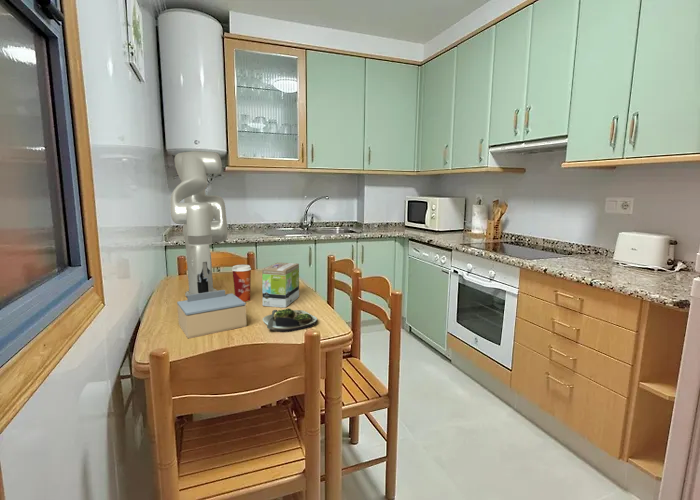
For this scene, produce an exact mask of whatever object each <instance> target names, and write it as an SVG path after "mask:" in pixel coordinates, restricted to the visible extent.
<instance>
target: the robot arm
mask: <svg viewBox="0 0 700 500" xmlns="http://www.w3.org/2000/svg"><path fill="white" fill-rule="evenodd" d="M221 159H222V158H221V156H220V154H218V152H215V151H198V150H197V151H196V150H195V151H194V150H193V151H184V152H183V151H182V152H179V153H176V154H175V156H174V165H175V166H174V167H175V170H176V174H177V175H178V178H179V179H180V183H179V184H177V186H176V187H175V188H174V189H173V191H172V193H171V194H170V199H169V203H170V217H171V220H172V222H174V223H175V224H178V225H182V236H183V239H184V246H185V253H186V264H187V278H188V280H187V281H188V290H186V292H185V295H184V296H185V297H186V298H187V295H191V294H198V293H205V292H211V291H218V290H217V289H216V288H214V284H213V281H214V280H213V267H212V265H213V264H212V253H211V250H210V249H211V248H210V246H211V245H213V243H222V242H226V240H227V239H228V236H229V235H228V221H227V213H226V212H227V211H226V205H225V204H226V203H225V201H224V198H223V197H222V196H220V195H211V194H210V195H207V194H206V188H207V186H208V177H207V174H208V175H209V174H210V175H211V174H213V175H214V174H215V175H216V174H217V175H218V174H220V173H221V171H222V167H223V166H222V165H223V163H222V160H221ZM181 201H183V202H181Z"/></svg>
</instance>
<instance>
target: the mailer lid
mask: <svg viewBox="0 0 700 500" xmlns="http://www.w3.org/2000/svg"><path fill="white" fill-rule="evenodd" d="M177 304H178V305H179V306H180V308H181V309H182V310H183V312H184V313H185V314H186V315H190V314H196V313H202V312H208V311H213V310H219V309H225V308H231V307H236V306H242V305H245V306H246V304H247V303H246V302H243V301H242V300H241V299H239V298H238V297H237V296H235V293H233V292H231V293H226V290H225V289H220V290H217V291H211V292H205V293H198V294H191V295H187V297H186V299H185V300H180V301H179V300H178V301H176V305H177Z"/></svg>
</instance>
